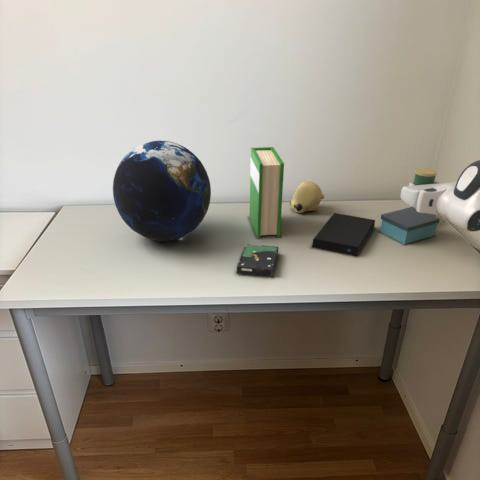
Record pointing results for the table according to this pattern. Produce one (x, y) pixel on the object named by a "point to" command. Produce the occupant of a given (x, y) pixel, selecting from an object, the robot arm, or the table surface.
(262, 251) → the disk drive
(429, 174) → the tea tin
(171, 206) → the globe
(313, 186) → the toy pig
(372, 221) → the external hard drive
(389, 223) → the storage box
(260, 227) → the hardback book
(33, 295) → the table surface
